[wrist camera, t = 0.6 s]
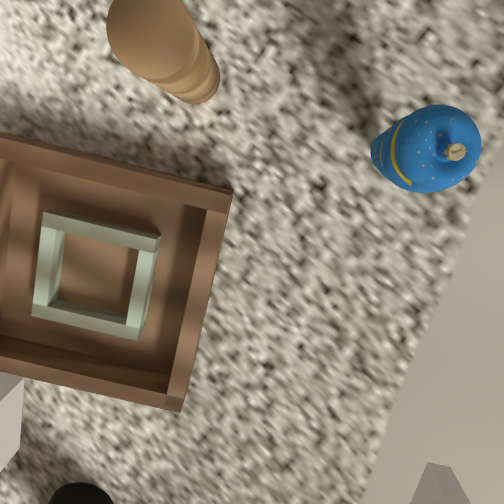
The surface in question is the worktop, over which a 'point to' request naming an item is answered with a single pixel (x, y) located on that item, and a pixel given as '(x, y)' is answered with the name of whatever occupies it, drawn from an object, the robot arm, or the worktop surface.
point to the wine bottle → (80, 495)
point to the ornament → (428, 149)
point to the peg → (163, 47)
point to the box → (104, 271)
